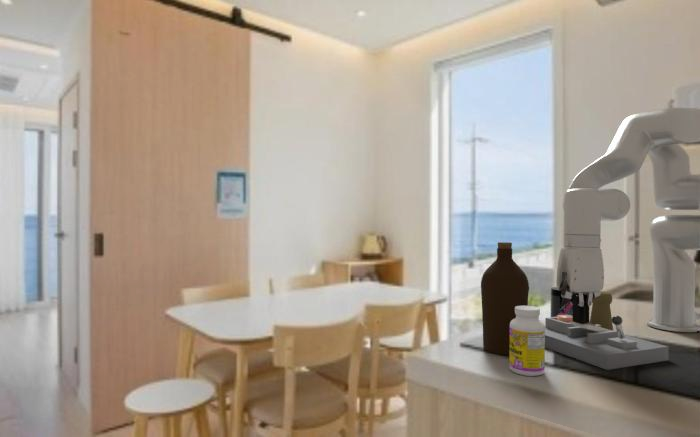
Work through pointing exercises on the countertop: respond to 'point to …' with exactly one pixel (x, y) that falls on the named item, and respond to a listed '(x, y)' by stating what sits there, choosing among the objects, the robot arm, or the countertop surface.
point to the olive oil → (501, 299)
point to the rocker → (591, 327)
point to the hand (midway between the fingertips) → (580, 322)
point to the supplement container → (560, 304)
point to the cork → (602, 311)
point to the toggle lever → (618, 326)
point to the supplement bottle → (527, 342)
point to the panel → (601, 346)
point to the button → (565, 318)
